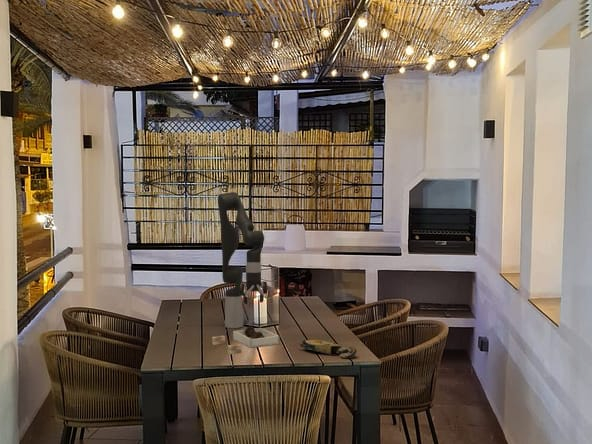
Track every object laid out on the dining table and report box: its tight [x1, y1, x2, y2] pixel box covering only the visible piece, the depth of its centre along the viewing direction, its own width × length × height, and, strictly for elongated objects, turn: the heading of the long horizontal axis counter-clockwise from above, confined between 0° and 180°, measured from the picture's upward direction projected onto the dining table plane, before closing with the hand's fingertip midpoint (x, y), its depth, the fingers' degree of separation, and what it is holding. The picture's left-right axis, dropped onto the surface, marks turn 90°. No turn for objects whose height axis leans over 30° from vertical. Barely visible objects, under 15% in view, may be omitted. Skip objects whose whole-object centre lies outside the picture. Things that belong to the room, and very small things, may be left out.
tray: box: [232, 327, 280, 349], centre depth 302 cm, size 16×21×4 cm
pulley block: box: [296, 339, 358, 359], centre depth 282 cm, size 14×6×30 cm
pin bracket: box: [211, 335, 242, 355], centre depth 288 cm, size 6×21×4 cm, turn 30°
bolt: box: [244, 326, 265, 339], centre depth 302 cm, size 6×5×15 cm
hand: (253, 303), depth 302 cm, fingers open, 8 cm apart
